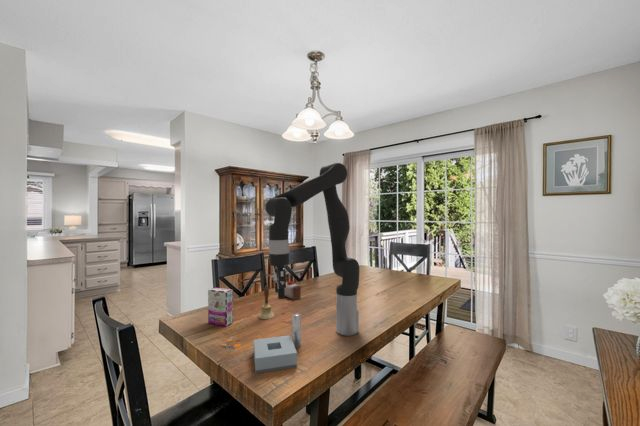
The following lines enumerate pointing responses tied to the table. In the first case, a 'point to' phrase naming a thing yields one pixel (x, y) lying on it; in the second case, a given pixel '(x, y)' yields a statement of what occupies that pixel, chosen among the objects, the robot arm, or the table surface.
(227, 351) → the key chain
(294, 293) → the food item
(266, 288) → the hand bell
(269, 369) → the bore block
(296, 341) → the pin
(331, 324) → the table surface
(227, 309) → the candy bar box
